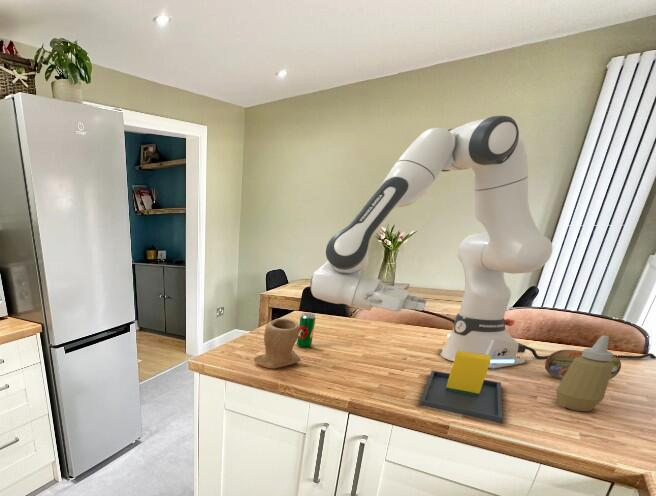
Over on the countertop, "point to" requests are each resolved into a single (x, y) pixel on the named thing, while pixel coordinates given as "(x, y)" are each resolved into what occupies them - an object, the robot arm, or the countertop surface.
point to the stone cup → (279, 344)
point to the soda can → (306, 330)
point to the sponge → (468, 373)
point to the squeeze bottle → (586, 378)
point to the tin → (564, 358)
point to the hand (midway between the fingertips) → (425, 305)
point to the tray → (464, 398)
